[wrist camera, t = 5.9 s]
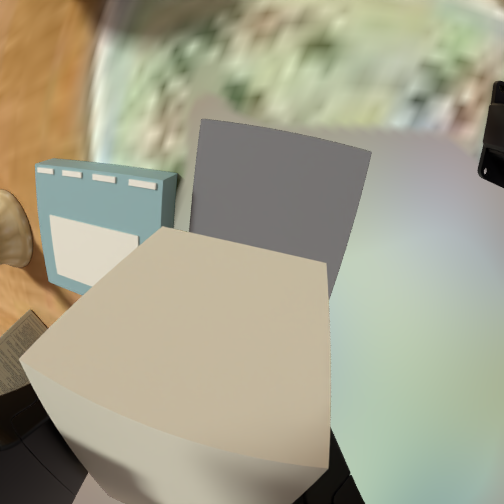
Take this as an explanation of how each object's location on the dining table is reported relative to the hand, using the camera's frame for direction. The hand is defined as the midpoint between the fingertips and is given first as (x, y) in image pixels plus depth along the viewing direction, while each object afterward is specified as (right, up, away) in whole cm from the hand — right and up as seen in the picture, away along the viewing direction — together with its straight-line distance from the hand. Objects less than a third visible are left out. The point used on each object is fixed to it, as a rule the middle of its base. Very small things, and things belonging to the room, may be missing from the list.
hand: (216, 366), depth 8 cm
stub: (0, 0, +1) cm, 1 cm away
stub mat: (+2, +5, +10) cm, 11 cm away
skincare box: (-23, -6, +20) cm, 31 cm away
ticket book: (-10, +5, +12) cm, 16 cm away
